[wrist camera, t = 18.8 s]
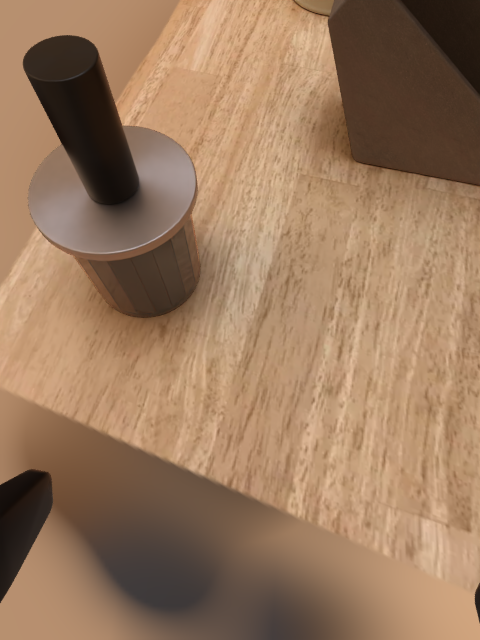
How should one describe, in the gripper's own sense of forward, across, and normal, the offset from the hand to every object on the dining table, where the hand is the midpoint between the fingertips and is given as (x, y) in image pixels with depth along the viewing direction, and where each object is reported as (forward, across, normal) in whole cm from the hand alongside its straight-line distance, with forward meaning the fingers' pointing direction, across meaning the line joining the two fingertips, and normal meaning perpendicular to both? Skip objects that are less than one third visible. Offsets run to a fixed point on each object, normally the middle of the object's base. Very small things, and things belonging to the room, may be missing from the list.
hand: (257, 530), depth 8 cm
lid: (+14, +9, -5) cm, 17 cm away
